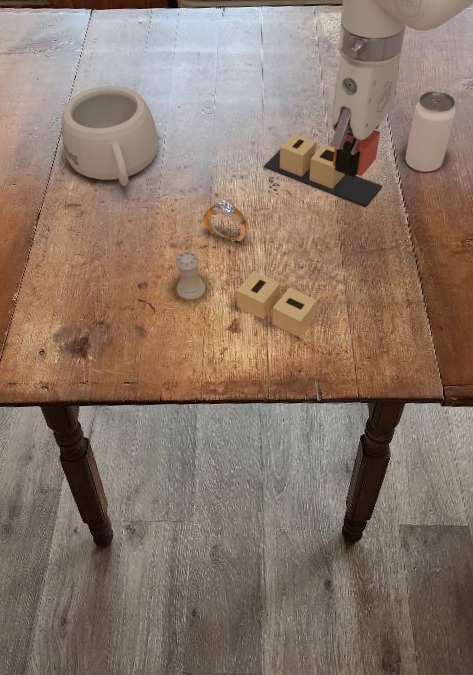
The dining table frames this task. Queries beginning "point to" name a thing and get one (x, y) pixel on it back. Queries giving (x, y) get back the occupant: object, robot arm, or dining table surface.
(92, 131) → the mug
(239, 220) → the ring
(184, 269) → the rook chess piece
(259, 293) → the slotted blocks
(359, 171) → the red block
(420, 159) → the can
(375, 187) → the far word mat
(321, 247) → the dining table surface
